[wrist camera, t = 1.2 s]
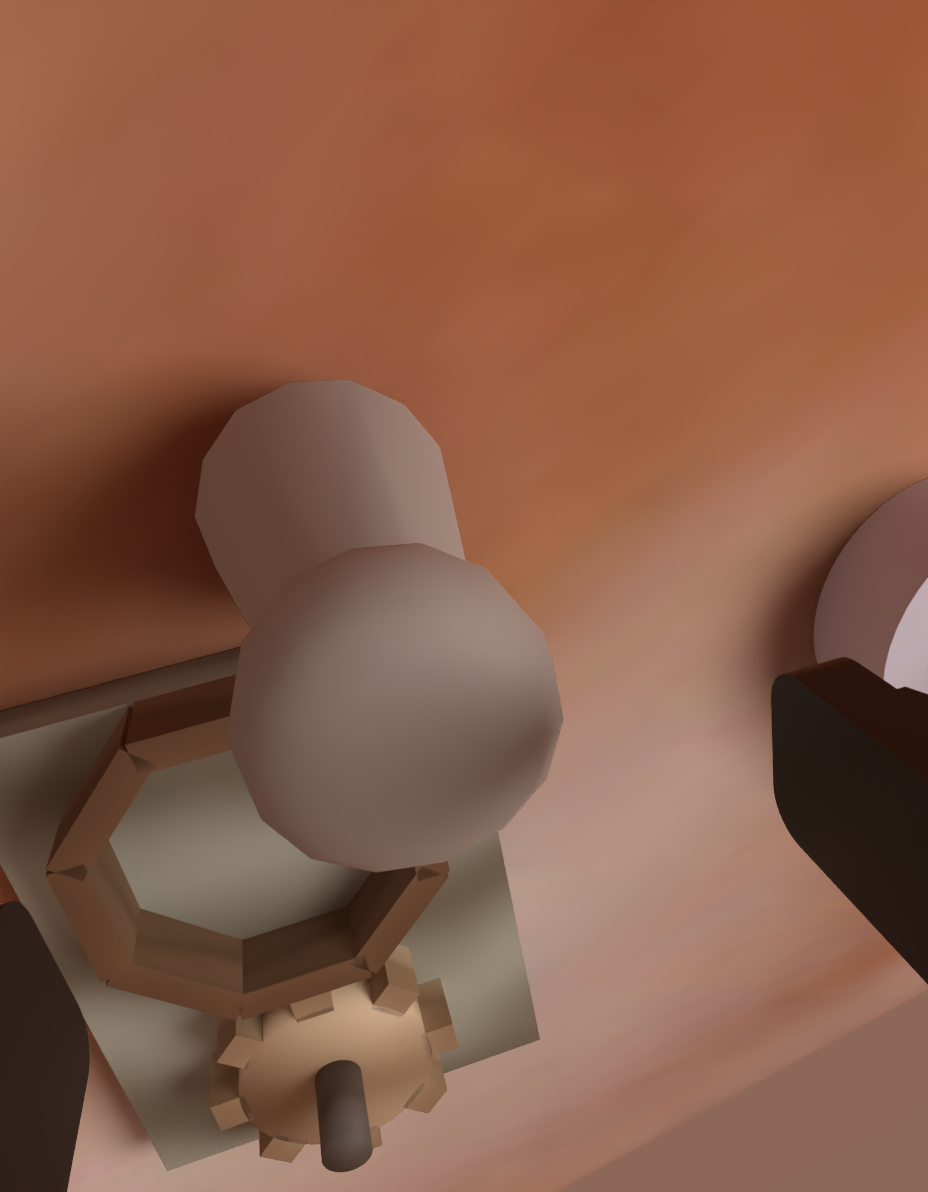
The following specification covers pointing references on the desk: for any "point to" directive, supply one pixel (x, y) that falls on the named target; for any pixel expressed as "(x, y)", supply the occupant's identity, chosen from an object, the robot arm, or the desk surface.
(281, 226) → the desk surface
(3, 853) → the peg board
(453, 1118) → the desk surface
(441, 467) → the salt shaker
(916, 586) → the wedge on round base
